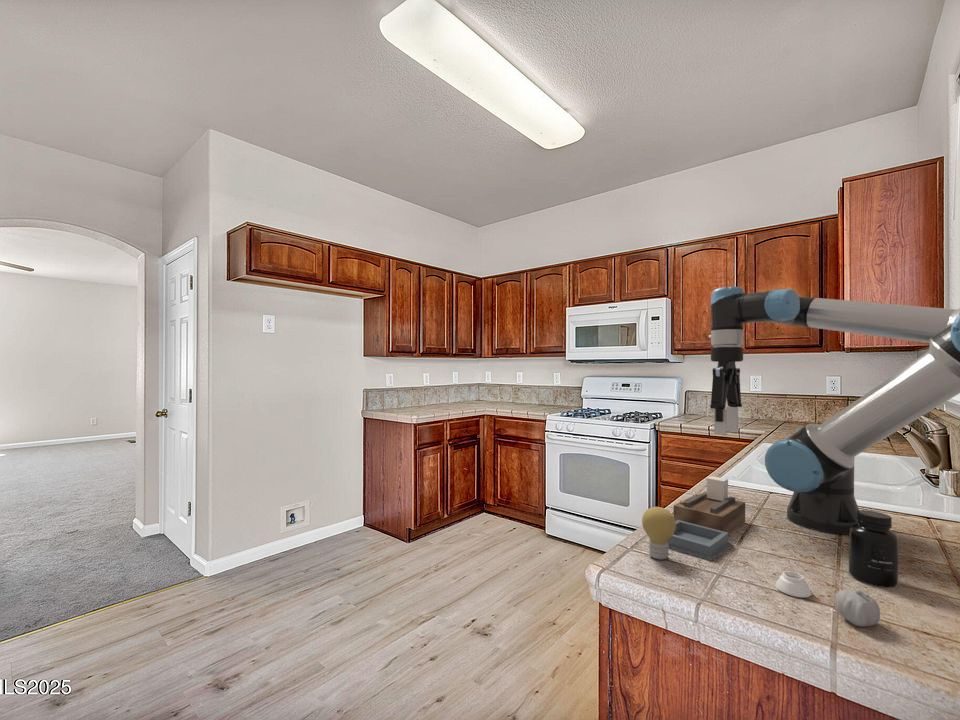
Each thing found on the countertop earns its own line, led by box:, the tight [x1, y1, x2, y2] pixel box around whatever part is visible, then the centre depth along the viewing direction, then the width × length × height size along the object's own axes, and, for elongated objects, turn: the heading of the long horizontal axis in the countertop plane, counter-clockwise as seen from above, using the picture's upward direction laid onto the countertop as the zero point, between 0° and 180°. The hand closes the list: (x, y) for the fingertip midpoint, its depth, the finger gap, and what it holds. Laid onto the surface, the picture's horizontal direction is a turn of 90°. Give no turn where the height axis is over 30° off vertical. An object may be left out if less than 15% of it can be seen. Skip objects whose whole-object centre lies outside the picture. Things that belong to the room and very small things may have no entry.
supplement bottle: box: [848, 509, 900, 588], centre depth 82 cm, size 7×7×12 cm
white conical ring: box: [774, 570, 812, 598], centre depth 78 cm, size 5×3×5 cm
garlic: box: [834, 588, 881, 628], centre depth 69 cm, size 6×5×5 cm
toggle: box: [706, 475, 729, 501], centre depth 114 cm, size 4×3×5 cm
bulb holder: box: [667, 520, 733, 562], centre depth 98 cm, size 12×12×3 cm
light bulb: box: [641, 506, 676, 561], centre depth 91 cm, size 6×6×10 cm
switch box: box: [673, 490, 746, 535], centre depth 110 cm, size 11×16×6 cm
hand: (726, 432), depth 118 cm, fingers open, 8 cm apart
